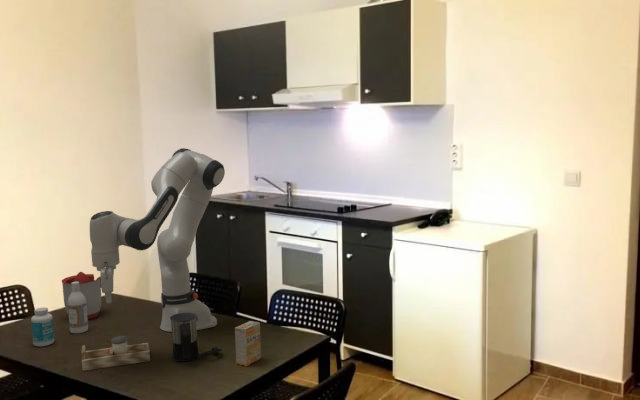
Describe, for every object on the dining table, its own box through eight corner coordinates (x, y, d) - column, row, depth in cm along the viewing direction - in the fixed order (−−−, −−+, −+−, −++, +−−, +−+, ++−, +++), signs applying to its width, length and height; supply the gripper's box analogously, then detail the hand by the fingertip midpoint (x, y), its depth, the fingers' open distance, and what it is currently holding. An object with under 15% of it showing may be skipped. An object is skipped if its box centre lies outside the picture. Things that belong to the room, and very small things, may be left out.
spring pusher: (113, 354, 218) (112, 346, 218) (113, 361, 212) (112, 353, 212) (110, 355, 218) (109, 347, 217) (110, 362, 212) (109, 353, 211)
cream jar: (128, 353, 219) (126, 334, 218) (129, 359, 214) (127, 339, 213) (112, 356, 217) (111, 337, 216) (113, 361, 213) (111, 342, 212)
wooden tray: (148, 352, 223) (147, 336, 222) (150, 361, 215) (149, 344, 214) (83, 361, 216) (82, 344, 216) (82, 370, 208) (81, 353, 207)
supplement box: (247, 367, 207) (245, 329, 206) (235, 364, 210) (234, 327, 208) (262, 358, 214) (260, 322, 213) (251, 356, 217) (249, 320, 215)
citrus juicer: (114, 314, 268) (110, 269, 265) (76, 325, 255) (72, 278, 252) (95, 308, 278) (92, 264, 275) (58, 318, 265) (54, 272, 263)
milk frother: (168, 356, 219) (165, 315, 217) (209, 345, 228) (206, 306, 226) (184, 368, 208) (181, 326, 206) (226, 357, 217) (224, 316, 215)
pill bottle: (46, 347, 230) (43, 312, 229) (29, 346, 232) (25, 311, 230) (58, 340, 238) (55, 306, 236) (41, 339, 239) (38, 305, 237)
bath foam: (66, 333, 246) (61, 284, 243) (77, 327, 252) (73, 279, 250) (80, 334, 244) (76, 285, 241) (92, 328, 250) (88, 280, 248)
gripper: (115, 265, 202) (119, 306, 204) (115, 252, 221) (118, 290, 223) (95, 267, 200) (98, 308, 202) (96, 254, 219) (99, 292, 221)
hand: (109, 298), depth 212 cm, fingers open, 8 cm apart
